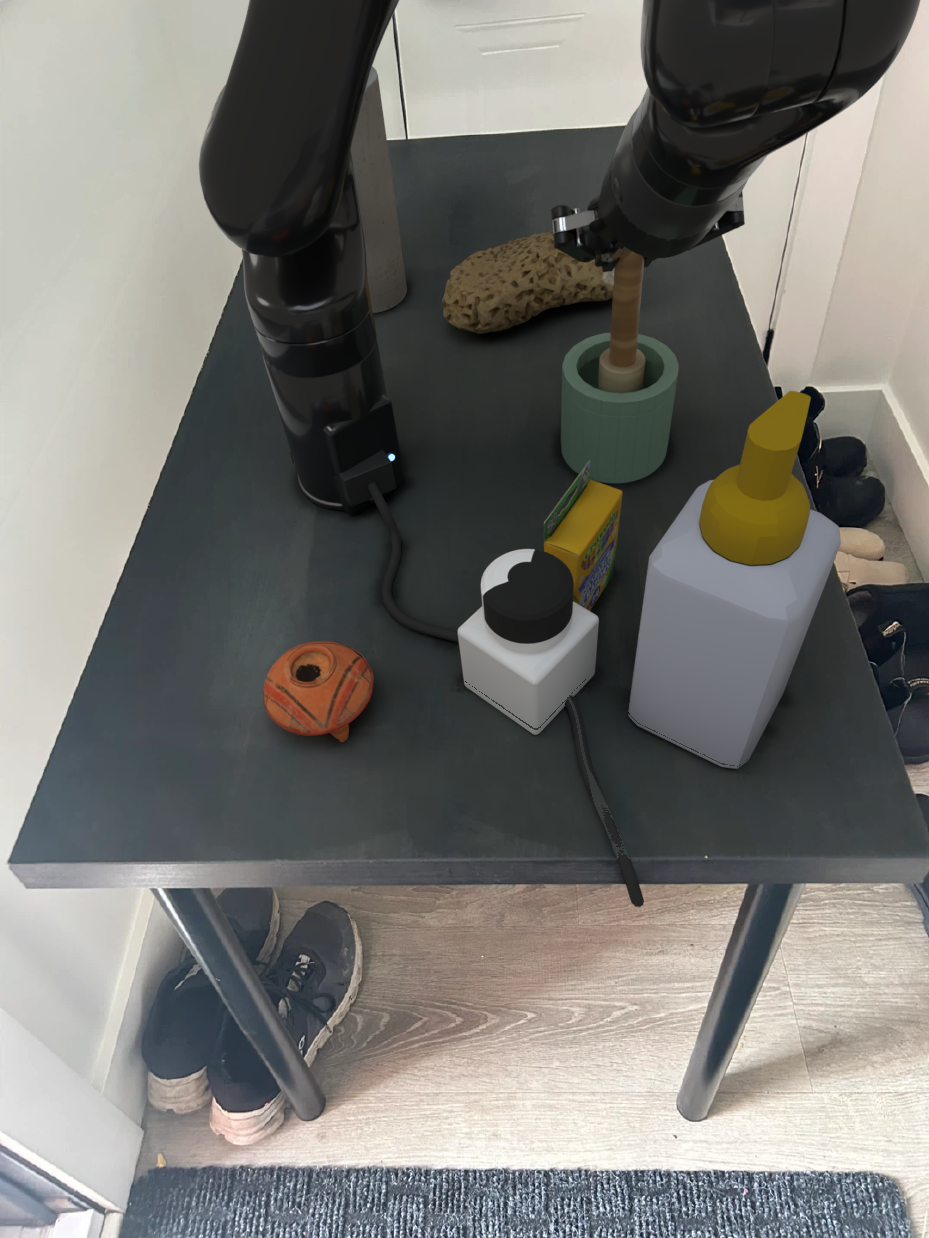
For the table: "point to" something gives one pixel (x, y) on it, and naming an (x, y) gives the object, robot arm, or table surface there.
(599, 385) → the wooden peg on base
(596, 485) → the crayon box
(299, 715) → the pot
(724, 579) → the soap bottle
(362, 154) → the thermos bottle
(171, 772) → the table surface
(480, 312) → the sponge
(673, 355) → the jar
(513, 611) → the medicine bottle
